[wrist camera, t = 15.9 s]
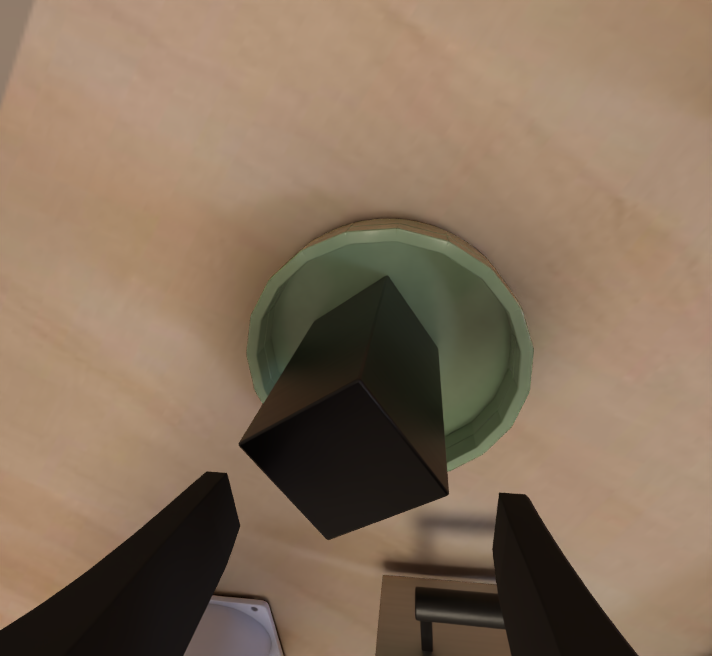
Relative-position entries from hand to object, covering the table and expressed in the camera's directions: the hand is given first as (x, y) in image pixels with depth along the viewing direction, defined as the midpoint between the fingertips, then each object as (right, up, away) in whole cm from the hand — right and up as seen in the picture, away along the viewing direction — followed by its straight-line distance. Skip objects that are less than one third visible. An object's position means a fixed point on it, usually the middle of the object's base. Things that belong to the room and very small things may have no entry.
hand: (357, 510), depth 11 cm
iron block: (+1, +5, +8) cm, 9 cm away
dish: (+1, +4, +9) cm, 10 cm away
